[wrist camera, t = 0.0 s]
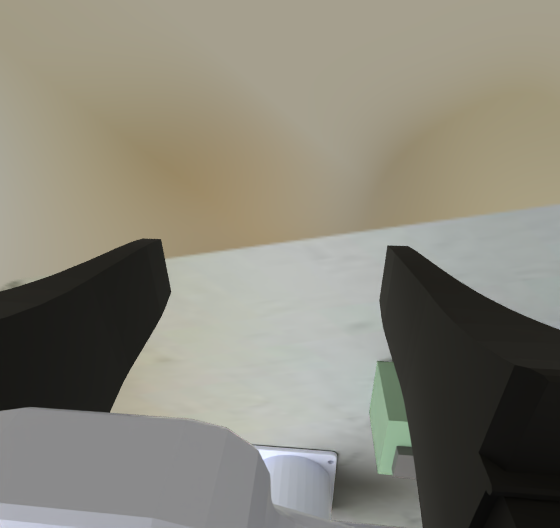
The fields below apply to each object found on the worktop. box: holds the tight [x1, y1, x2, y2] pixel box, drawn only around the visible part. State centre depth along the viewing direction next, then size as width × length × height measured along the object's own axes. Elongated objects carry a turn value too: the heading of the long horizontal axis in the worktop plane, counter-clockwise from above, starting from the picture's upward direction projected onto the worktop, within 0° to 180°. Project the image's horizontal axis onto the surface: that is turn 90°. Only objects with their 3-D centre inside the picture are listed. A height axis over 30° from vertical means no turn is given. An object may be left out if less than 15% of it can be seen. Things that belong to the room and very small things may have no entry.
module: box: [369, 361, 416, 479], centre depth 25 cm, size 6×4×6 cm, turn 1°
